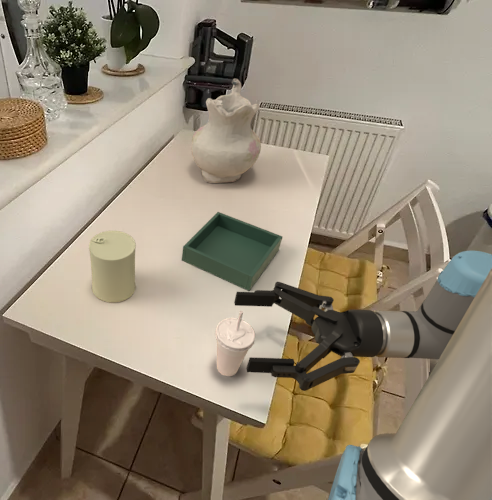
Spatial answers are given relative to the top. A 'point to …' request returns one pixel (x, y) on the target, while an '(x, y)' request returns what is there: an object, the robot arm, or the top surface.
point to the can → (112, 265)
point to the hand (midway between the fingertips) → (241, 329)
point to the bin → (232, 250)
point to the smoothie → (233, 343)
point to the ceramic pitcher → (226, 138)
